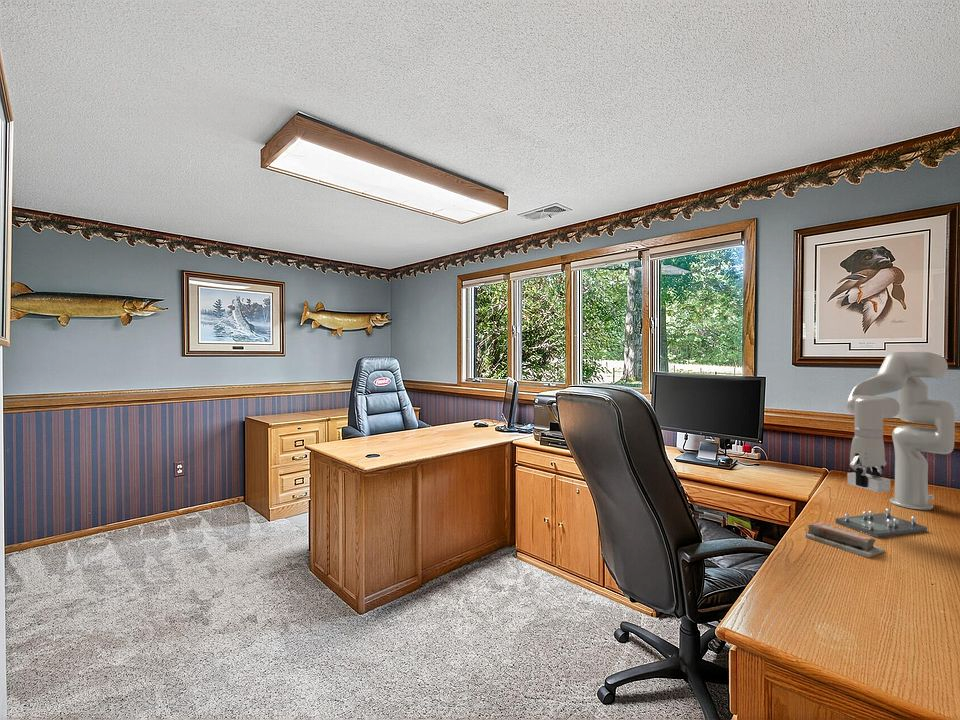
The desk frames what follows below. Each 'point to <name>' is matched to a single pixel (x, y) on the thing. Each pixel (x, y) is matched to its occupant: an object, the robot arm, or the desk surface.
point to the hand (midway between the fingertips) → (868, 484)
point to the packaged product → (843, 539)
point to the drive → (871, 482)
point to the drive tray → (881, 524)
